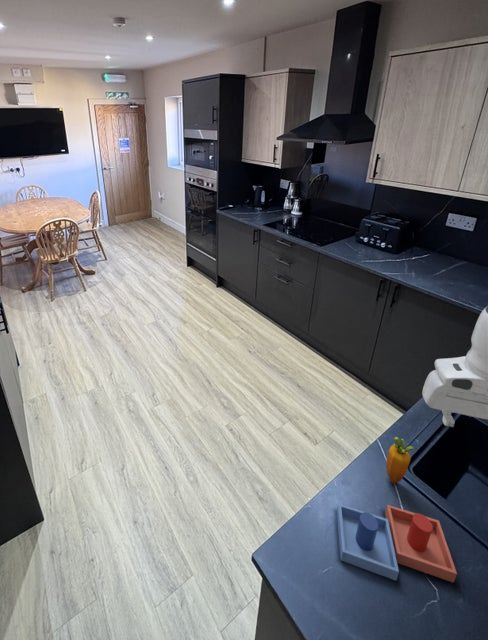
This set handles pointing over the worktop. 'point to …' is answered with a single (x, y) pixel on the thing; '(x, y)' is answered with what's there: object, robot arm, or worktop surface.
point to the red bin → (429, 561)
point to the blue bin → (351, 552)
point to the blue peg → (366, 531)
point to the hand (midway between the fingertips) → (473, 429)
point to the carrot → (397, 460)
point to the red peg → (419, 532)
